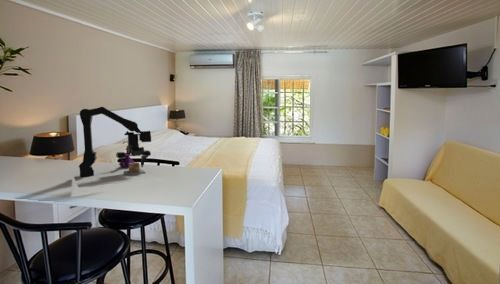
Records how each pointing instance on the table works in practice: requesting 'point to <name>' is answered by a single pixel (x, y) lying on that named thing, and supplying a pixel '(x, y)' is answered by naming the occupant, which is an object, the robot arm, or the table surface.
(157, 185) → the table surface
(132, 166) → the walnut cube
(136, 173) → the slate coaster
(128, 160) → the perfume bottle
